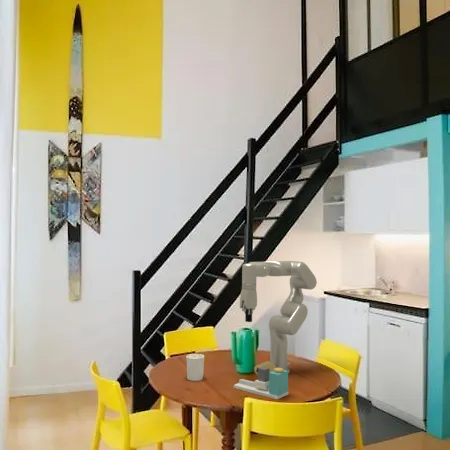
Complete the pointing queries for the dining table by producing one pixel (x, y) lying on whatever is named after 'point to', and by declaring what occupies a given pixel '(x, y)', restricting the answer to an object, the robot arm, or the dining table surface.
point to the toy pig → (265, 364)
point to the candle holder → (195, 366)
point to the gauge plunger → (279, 370)
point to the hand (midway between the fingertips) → (248, 321)
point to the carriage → (262, 378)
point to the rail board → (258, 391)
